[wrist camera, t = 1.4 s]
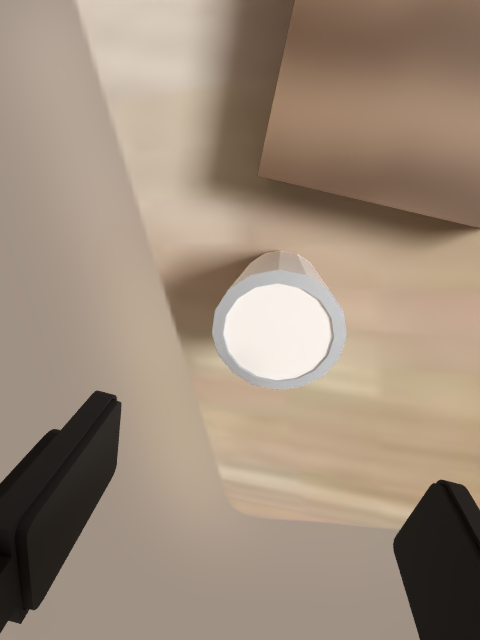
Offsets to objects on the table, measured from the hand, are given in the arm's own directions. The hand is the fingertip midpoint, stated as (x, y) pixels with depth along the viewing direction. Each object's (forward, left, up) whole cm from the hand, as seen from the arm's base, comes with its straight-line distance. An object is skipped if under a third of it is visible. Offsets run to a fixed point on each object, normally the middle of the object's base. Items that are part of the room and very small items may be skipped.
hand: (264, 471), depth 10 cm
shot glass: (0, 0, -15) cm, 15 cm away
